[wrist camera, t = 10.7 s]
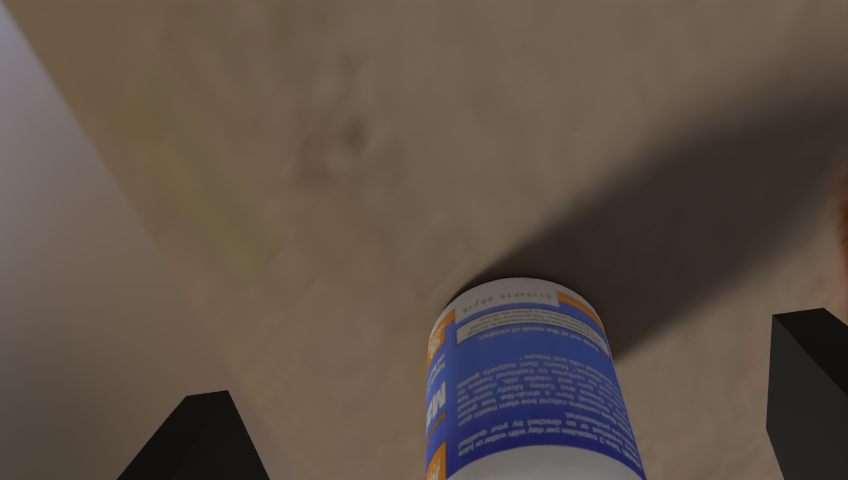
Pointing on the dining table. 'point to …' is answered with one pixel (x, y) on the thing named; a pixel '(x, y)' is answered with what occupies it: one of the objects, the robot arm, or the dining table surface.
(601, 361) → the pill bottle
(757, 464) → the dining table surface
